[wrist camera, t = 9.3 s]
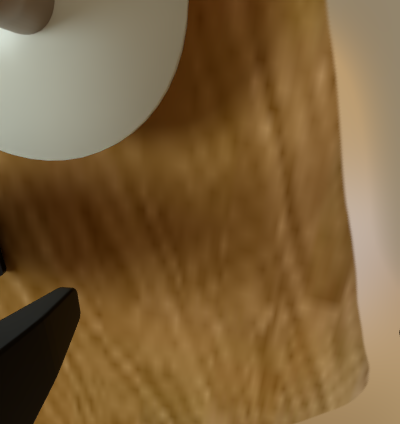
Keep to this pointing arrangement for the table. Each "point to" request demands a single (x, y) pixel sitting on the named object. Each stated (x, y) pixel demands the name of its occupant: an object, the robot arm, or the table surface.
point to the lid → (83, 71)
